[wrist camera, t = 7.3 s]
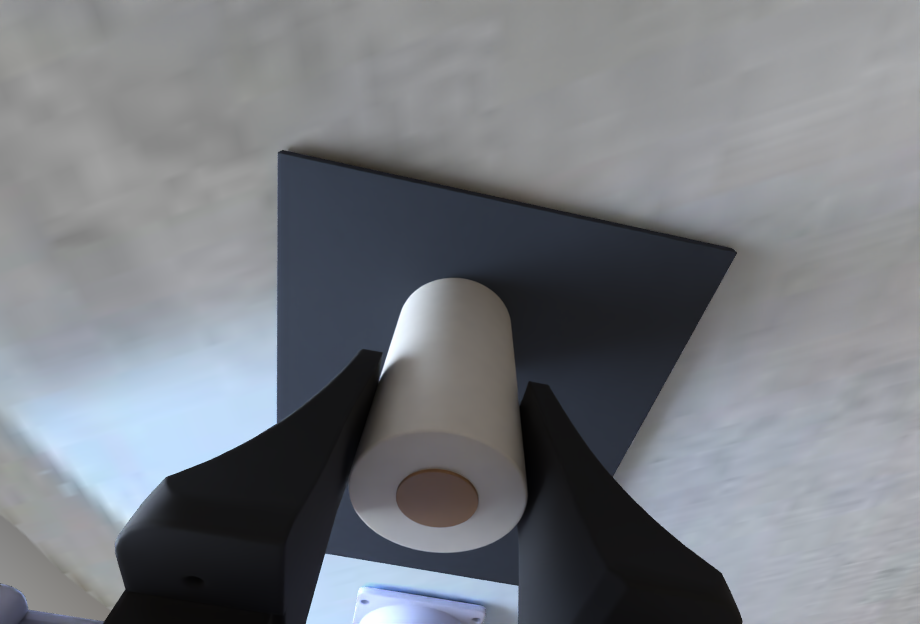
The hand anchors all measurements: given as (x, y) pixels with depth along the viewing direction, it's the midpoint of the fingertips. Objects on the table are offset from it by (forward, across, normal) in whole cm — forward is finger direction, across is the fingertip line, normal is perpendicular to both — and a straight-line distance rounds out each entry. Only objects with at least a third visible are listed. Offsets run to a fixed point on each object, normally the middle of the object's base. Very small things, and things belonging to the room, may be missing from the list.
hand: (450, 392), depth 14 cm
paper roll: (+1, 0, +3) cm, 3 cm away
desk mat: (+5, -1, +6) cm, 8 cm away
